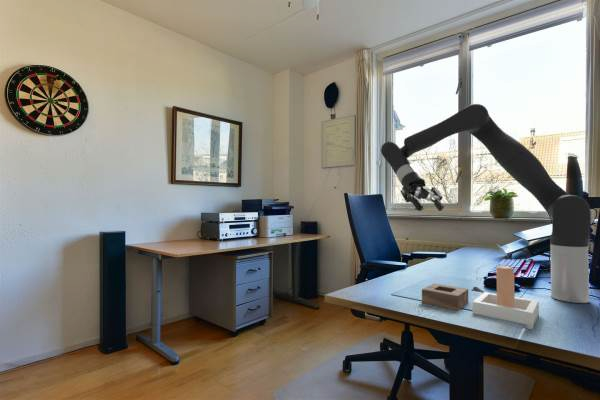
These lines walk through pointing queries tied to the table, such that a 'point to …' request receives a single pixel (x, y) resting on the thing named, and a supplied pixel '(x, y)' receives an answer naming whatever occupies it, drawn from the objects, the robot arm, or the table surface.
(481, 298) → the tray
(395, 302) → the table surface
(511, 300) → the tan rectangular block
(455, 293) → the socket block
